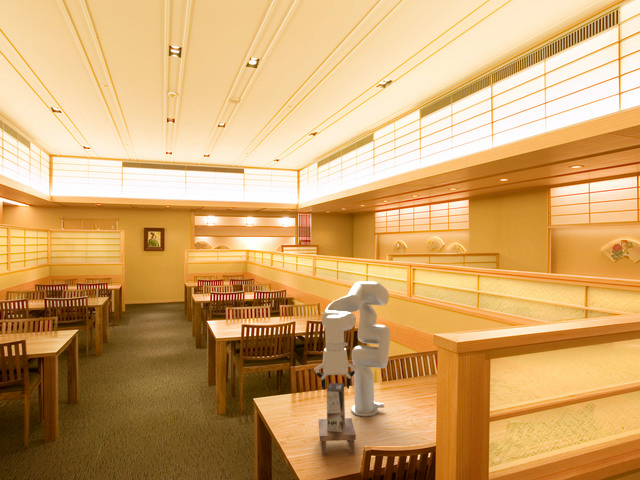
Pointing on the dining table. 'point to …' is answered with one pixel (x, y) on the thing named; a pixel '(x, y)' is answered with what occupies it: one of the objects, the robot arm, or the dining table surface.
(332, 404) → the coffee box
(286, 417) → the dining table surface
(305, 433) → the dining table surface
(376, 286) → the robot arm
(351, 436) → the stool
